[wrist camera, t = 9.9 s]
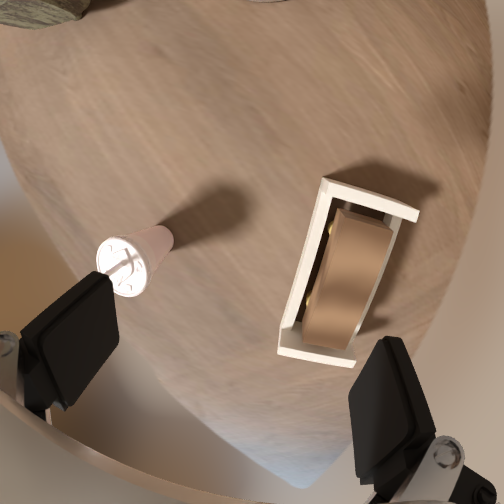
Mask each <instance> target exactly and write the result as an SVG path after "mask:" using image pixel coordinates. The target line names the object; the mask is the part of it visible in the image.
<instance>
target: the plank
mask: <svg viewBox="0 0 504 504" xmlns="http://www.w3.org/2000/svg"><path fill="white" fill-rule="evenodd" d="M393 232H394V231H393V230H391V229H390V228H389V227H388V226H387V225H386V224H384V223H383V222H382V221H381V220H378V219H375V218H371V217H368V216H365V215H361V214H358V213H354V212H351V211H347V210H344V209H340V208H337V212H336V215H335V219H334V222H333V226H332V229H331V233H330V236H329V239H328V243H327V246H326V249H325V253H324V256H323V259H322V262H321V265H320V269H319V272H318V275H317V278H316V281H315V284H314V287H313V290H312V293H311V296H310V299H309V302H308V305H307V308H306V310H305V313H304V316H303V319H302V341H303V343H308V344H313V345H318V346H323V347H328V348H334V349H339V350H346V348H347V345H348V343H349V341H350V339H351V337H352V335H353V333H354V331H355V329H356V327H357V324H358V322H359V320H360V318H361V315H362V313H363V311H364V309H365V306H366V304H367V302H368V299H369V297H370V295H371V292H372V290H373V287H374V285H375V282H376V280H377V277H378V274H379V272H380V269H381V267H382V264H383V261H384V258H385V256H386V253H387V250H388V247H389V244H390V241H391V238H392V235H393Z"/></svg>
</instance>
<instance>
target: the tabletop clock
mask: <svg viewBox="0 0 504 504" xmlns="http://www.w3.org/2000/svg"><path fill="white" fill-rule="evenodd" d="M90 2H91V0H0V24H4V25H9V26H14V27H19V28H24V29H32V30H36V29H42V28H46V27H49V26H53V25H57V24H60V23H63V22H67V21H70V20H75V21H77V20H79V19H80V18H81V17H82V12H83V11H84V10H85V9H86V8H87V7H88V6H89V4H90Z"/></svg>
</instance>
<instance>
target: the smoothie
mask: <svg viewBox="0 0 504 504" xmlns="http://www.w3.org/2000/svg"><path fill="white" fill-rule="evenodd" d="M173 244H174V238H173V235H172V233H171V231H170V230H169V229H168V228H166V227H164V226H161V225H157V226H153V227H150V228H147V229H144V230H140V231H137V232H134V233H131V234H127V235H115V236H112V237H110V238H109V239H107V240H106V241H104V242H103V243H102V244H101V246H100V247H99V249H98V252H97V268H98V271H99V272H100V273H103V274H107V275H108V276H109V278H110V280H111V281H112V282H113V290H114V292H115V293H117V294H119V295H121V296H125V297H133V296H136V295H138V294H140V293H141V292H142V291H144V290H145V289H146V288H147V287H148V285H149V283H150V281H151V277H152V275H153V273H154V272H155V271H156V269H157V268H158V266H159V265H160V264H161V262H162V261H163V259H164V258H165V257H166V255H167V254H168V253H169V251H170V250H171V249H172V247H173Z"/></svg>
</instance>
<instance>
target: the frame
mask: <svg viewBox="0 0 504 504" xmlns="http://www.w3.org/2000/svg"><path fill="white" fill-rule="evenodd" d="M332 197H335V198H339V199H342V200H346V201H349V202H353V203H356V204H359V205H363V206H366V207H369V208H373V209H376V210H379V211H382V212H385V216H384V219H383V223H384V224H386V225H387V226H388V227H389V228H390V229H391V230H393V231H394V232H393V235H392V238H391V241H390V244H389V247H388V250H387V253H386V256H385V258H384V261H383V264H382V267H381V269H380V272H379V274H378V277H377V280H376V282H375V285H374V287H373V290H372V292H371V295H370V297H369V299H368V302H367V304H366V306H365V309H364V311H363V313H362V315H361V318H360V320H359V322H358V324H357V327H356V329H355V331H354V333H353V335H352V337H351V339H350V341H349V343H348V345H347V348H346V350H339V349H334V348H328V347H323V346H318V345H313V344H308V343H303V341H302V322H299V321H295V318H296V315H297V312H298V309H299V306H300V303H301V300H302V297H303V294H304V291H305V288H306V285H307V282H308V279H309V276H310V273H311V269H312V266H313V263H314V260H315V256H316V253H317V250H318V246H319V243H320V240H321V236H322V233H323V229H324V226H325V222H326V219H327V215H328V211H329V208H330V204H331V200H332ZM419 212H420V211H419V210H417V209H415V208H413V207H411V206H409V205H407V204H405V203H403V202H401V201H399V200H396V199H393V198H391V197H388V196H385V195H382V194H378V193H375V192H372V191H369V190H366V189H363V188H359V187H356V186H353V185H349V184H346V183H343V182H339V181H336V180H332V179H329V178H325V177H322V180H321V184H320V188H319V192H318V196H317V200H316V204H315V208H314V212H313V215H312V219H311V223H310V226H309V230H308V234H307V237H306V241H305V245H304V248H303V252H302V255H301V259H300V262H299V265H298V269H297V272H296V276H295V279H294V282H293V286H292V289H291V292H290V296H289V299H288V302H287V305H286V308H285V312H284V315H283V318H282V321H281V324H280V332H279V342H278V351H277V354H279V355H284V356H288V357H293V358H298V359H303V360H308V361H313V362H319V363H324V364H330V365H336V366H342V367H348V368H353V367H354V365H355V363H356V361H357V360H356V356H355V352H354V348H353V344H352V343H353V341H354V339H355V337H356V335H357V333H358V331H359V329H360V326H361V324H362V322H363V320H364V318H365V316H366V313H367V311H368V309H369V307H370V304H371V302H372V300H373V297H374V295H375V292H376V290H377V288H378V285H379V283H380V280H381V278H382V275H383V273H384V270H385V267H386V265H387V262H388V259H389V257H390V254H391V251H392V248H393V245H394V243H395V240H396V237H397V234H398V231H399V228H400V224H401V221H402V218H404V219H407V220H410V221H412V222H415V223H416V221H417V218H418V215H419ZM333 222H334V221H331V222H330V223H329V224H328V227H327V229H328V232H329V235H330V233H331V229H332V226H333ZM311 293H312V291H309V292H308V293H307V295H306V305H308V302H309V299H310V296H311Z"/></svg>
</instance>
